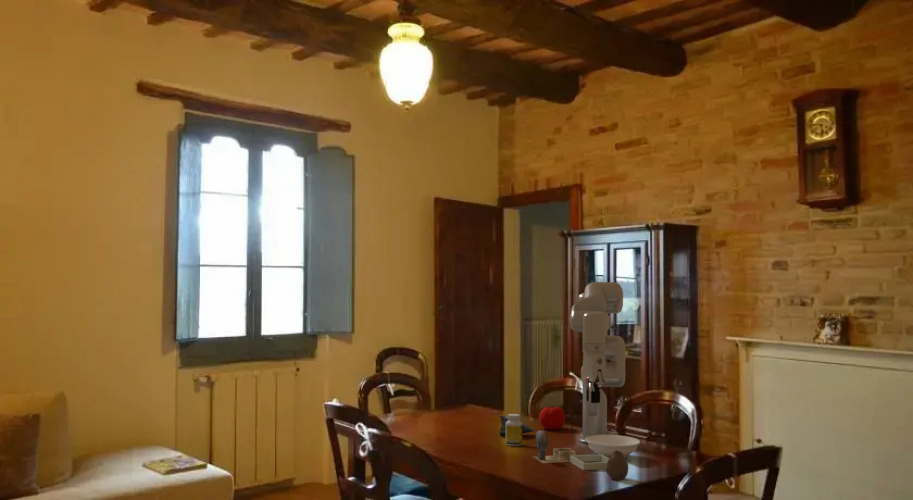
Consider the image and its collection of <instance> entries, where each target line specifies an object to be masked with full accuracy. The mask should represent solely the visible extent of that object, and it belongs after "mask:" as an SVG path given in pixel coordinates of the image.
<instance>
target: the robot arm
mask: <svg viewBox="0 0 913 500" xmlns="http://www.w3.org/2000/svg"><path fill="white" fill-rule="evenodd" d="M577 300H578V301H577V302H575V303H574V304H573V305H572V307H571V309H570V316H569V327H570V329H571V330H572V331H573V332H576V333H582V353H583V356H582V357H583V359H582V366H581V369H580V377H581V384H582V385H581V386H582V436H579V437H578V442H580V443H583V444H586V445H587V444H588V443H587V441H586V440H585V438H586V437H588V436H593V435H619V432H618V431H613V432H612V431H609V430H608V426H607V422H608V421H607V420H608V413H607V412H608V398H607V395H606V394H605V392H604V391H603V390H602V387H603V388H604V387H606V388H607V387H608V388H609V387H610V388H620V387H621V388H622V387H623V386H624V385H625V383H626V344H625V340H624V338H623V337H621V336H619V335H608V334H607V332H608V331H609V329H610V328H611V325H612V322H611V321H612V320H611V316H610V315H609V314H612V315H613V314H619V313H621V312H622V310H623V306H624V291H623V287H622V286H621V284H619V283H618V282H615V281H614V282H613V281H609V282H608V281H594V282H589V283H588V284H587V285H586V286H585V288H584V292H582V293H580V294H579V295H578V297H577ZM606 360H612V361H613V362H606ZM587 377H589V381H590V382H592V391H591V403H598V406H597V416H589V381H588V380H587ZM596 380H598V382H595V381H596ZM595 384H596V385H595Z"/></svg>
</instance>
